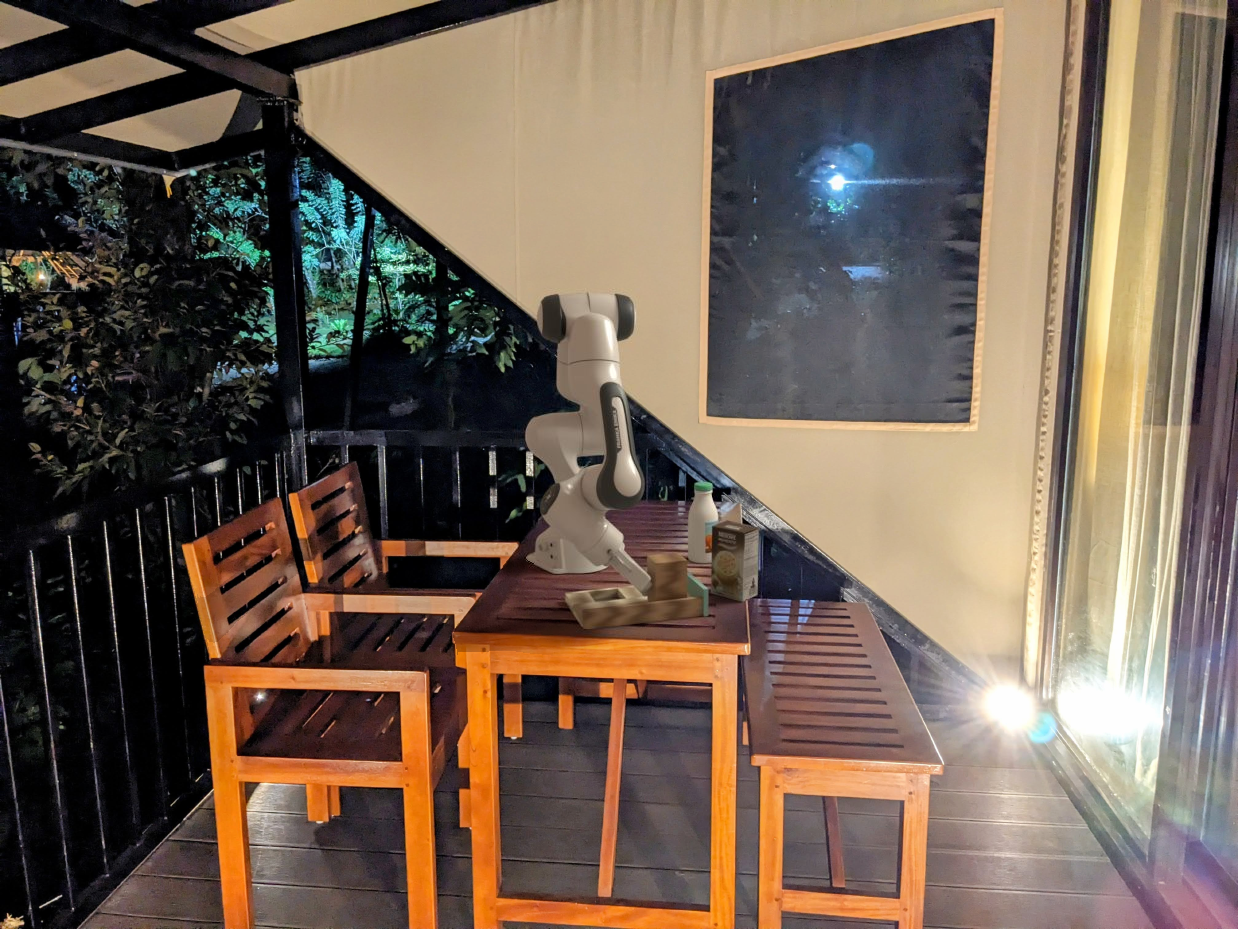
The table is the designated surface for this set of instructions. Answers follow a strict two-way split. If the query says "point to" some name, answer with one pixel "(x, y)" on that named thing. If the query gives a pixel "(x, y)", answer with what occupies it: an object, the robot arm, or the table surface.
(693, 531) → the milk bottle
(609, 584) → the table surface
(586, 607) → the board
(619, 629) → the table surface
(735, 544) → the coffee box
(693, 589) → the end stop
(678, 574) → the walnut block
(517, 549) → the table surface
